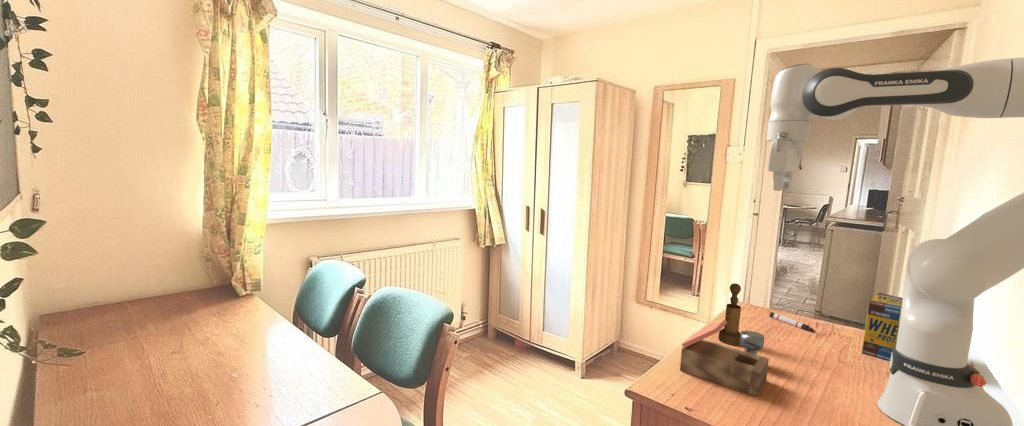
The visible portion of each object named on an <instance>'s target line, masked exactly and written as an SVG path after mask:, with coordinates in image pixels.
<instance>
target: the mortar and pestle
mask: <svg viewBox="0 0 1024 426" xmlns="http://www.w3.org/2000/svg"><path fill="white" fill-rule="evenodd" d="M741 290H742V287H741V286H740V284H739V283H735V282H734V283H732V284H730V286H729V291H730V292H731V297H730V298H729V299H730V303H727V304H726V306H725V307H726V309H725V317H724V318H725V319H724V320H726V321H727V324H726V325H725V326H724V327H723V328H722V329H721V330H720V331H719V332H718V340H719V341H720V342H722V343H724V344H727V345H732V346H739V345H740V346H741V344H740V338H741V332H739V329H740V322H741V321H740V319H741V311H742V307H741V306H740V305H738V303H739V298H738V295H739V293H740V292H741Z"/></svg>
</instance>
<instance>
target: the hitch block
mask: <svg viewBox="0 0 1024 426" xmlns="http://www.w3.org/2000/svg"><path fill="white" fill-rule="evenodd" d="M680 354H681V355H680V364H679V366H680V367H679V371H680V372H684V373H686V374H688V375H689V374H690V375H692V376H696V377H698V378H700V379H704V380H706V381H710V382H712V383H715V384H718V385H722V386H724V387H728V388H730V389H733V390H736V391H738V392H743V393H745V394H748V395H751V396H754V397H758V396H759V395H760V392H761V391H762V390H763V388H764V386H765V385H766V382H767V377H768V368H769V360H770V358H768V357H765V356H762V355H759V354H757V355H755V354H752V353H748V352H745V350H744V351H743V350H740V349H737V348H735V347H730V346H728V345H727V346H726V345H724V344H720V343H716V342H713V341H708V340H705V339H702V340H700V341H698V342H695V343H693V344H691V345H689V346H687V347H683V346H682V348H681V353H680Z"/></svg>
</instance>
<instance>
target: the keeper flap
mask: <svg viewBox="0 0 1024 426" xmlns="http://www.w3.org/2000/svg"><path fill="white" fill-rule="evenodd" d="M726 324H727V321H726V320H725V319H723V320H720V321H718V322H716V323H714V324H712V325H710V326H707V327H705V328H703V329H702V330H699V331H697V332H695V333H693V334H691V335H690V336H689V337H688V338H686V340H684V342H682V343H681V346H682V348H683V347H687V346H689V345H691V344H693V343H695V342H698V341H700V340H702V339H703V340H705V339H706V338H708V337H711V336H714V335H715V334H717V333H718V334H719V331H720V330H722V329H724V326H725V325H726Z"/></svg>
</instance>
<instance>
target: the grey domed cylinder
mask: <svg viewBox="0 0 1024 426" xmlns="http://www.w3.org/2000/svg"><path fill="white" fill-rule="evenodd" d="M740 333H741V338H740V346H741V347H743V348H744V351H745V352H748V353H752V354H755V355H758V351H762V350H764V344H765V336H764V334H762V333H759V332H756V331H751V330H743V331H741V332H740Z"/></svg>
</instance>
